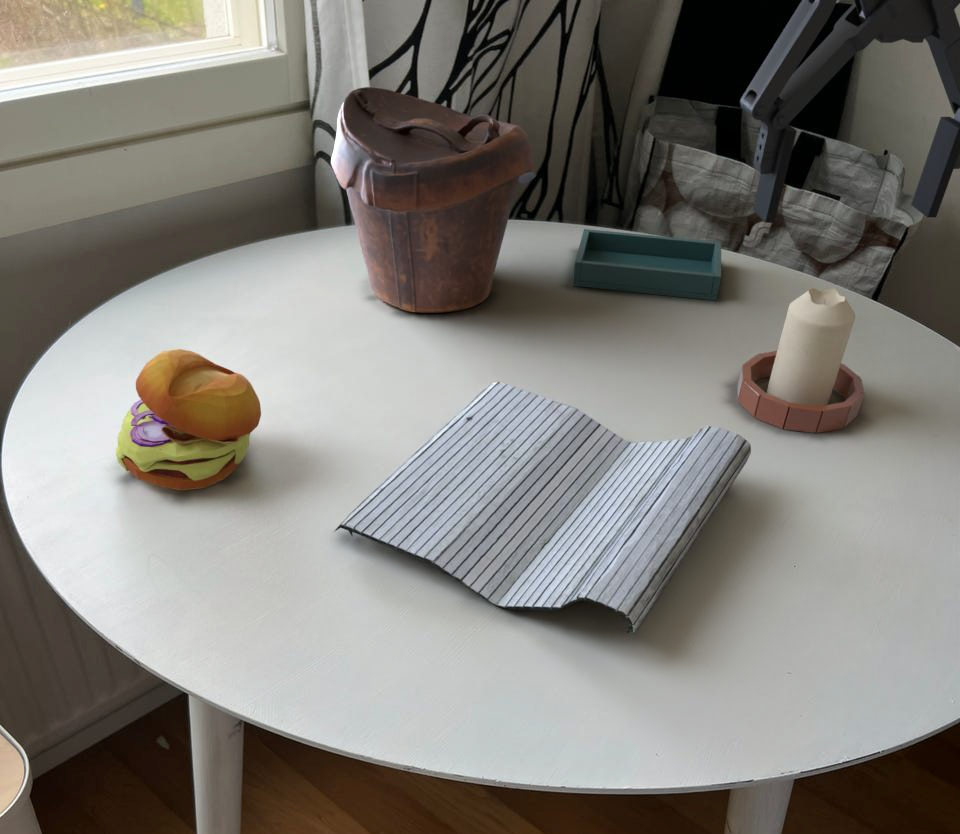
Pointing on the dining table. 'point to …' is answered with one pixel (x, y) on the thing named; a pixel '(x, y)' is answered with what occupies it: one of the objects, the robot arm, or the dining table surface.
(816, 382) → the candle
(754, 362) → the faceted band ring
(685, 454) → the mat
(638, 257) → the tray
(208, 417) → the cheeseburger
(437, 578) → the dining table surface
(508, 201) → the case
